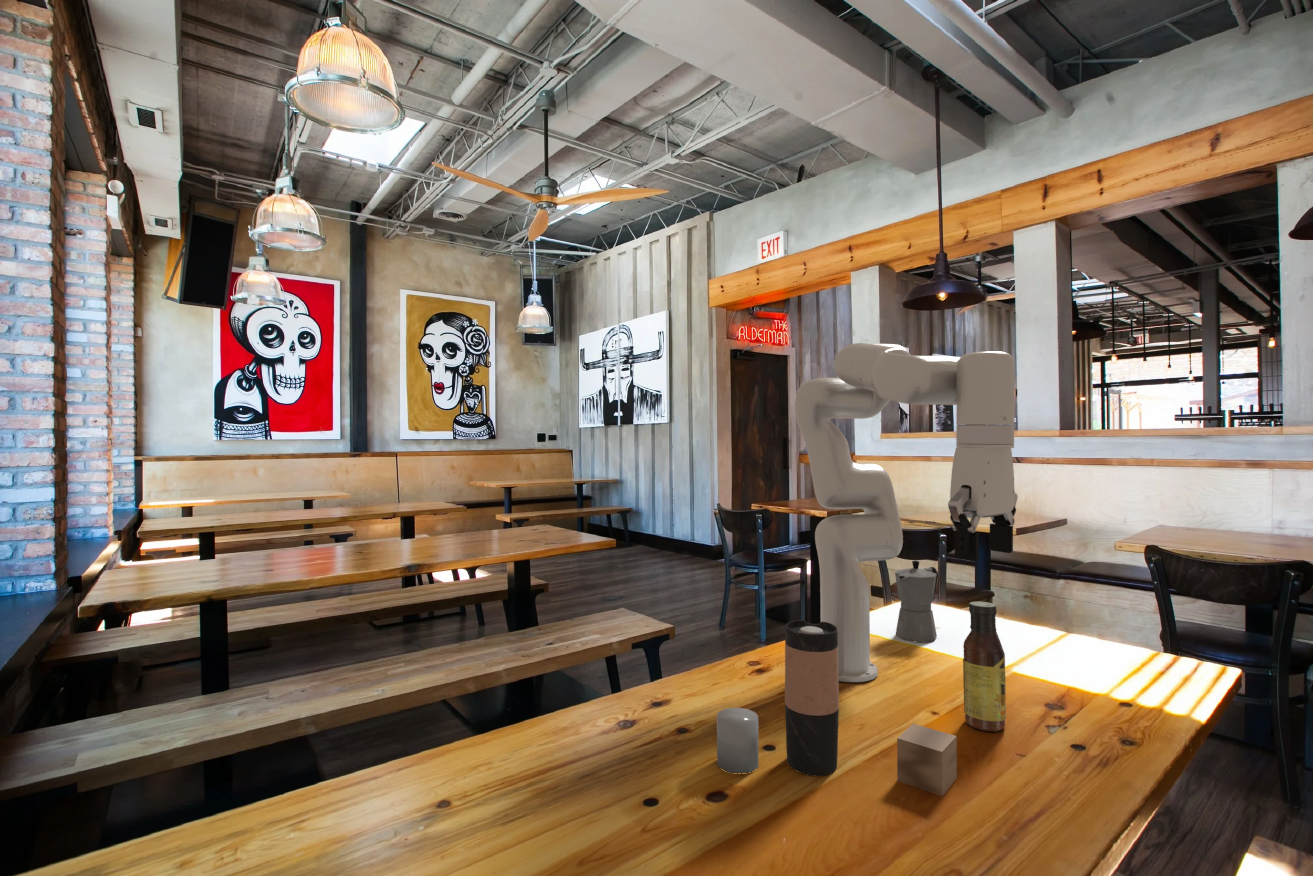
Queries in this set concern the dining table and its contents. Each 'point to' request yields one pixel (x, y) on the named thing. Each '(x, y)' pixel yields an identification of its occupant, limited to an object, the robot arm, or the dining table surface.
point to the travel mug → (811, 697)
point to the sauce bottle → (984, 671)
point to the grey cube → (927, 759)
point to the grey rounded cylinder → (737, 740)
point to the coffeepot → (916, 603)
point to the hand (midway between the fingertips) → (984, 555)
